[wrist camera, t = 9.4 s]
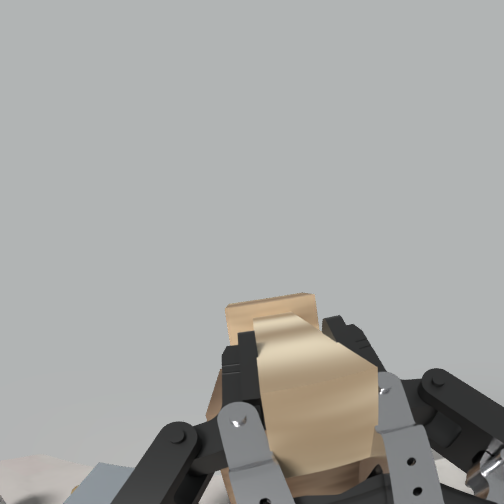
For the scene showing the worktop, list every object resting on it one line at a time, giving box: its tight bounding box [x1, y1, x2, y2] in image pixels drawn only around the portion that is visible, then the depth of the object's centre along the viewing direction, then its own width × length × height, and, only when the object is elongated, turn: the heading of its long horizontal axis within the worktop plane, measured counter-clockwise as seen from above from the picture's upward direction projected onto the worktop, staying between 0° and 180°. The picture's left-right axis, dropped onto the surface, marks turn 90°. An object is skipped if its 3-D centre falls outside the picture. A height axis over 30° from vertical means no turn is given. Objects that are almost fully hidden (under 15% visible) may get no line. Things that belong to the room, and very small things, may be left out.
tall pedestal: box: [206, 369, 360, 504], centre depth 22 cm, size 12×12×32 cm
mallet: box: [225, 293, 378, 478], centre depth 16 cm, size 20×7×4 cm, turn 1°
